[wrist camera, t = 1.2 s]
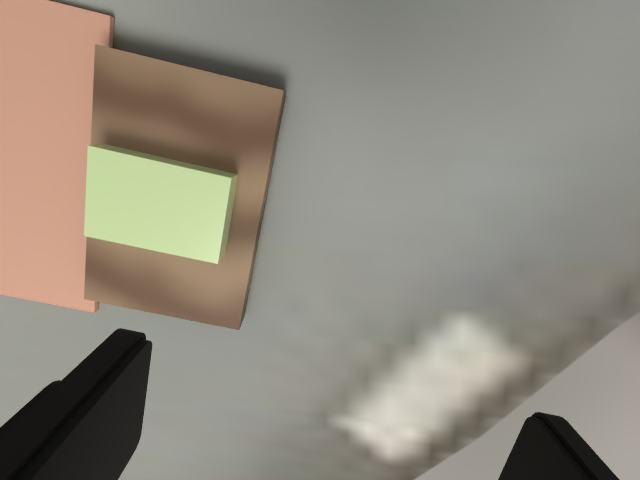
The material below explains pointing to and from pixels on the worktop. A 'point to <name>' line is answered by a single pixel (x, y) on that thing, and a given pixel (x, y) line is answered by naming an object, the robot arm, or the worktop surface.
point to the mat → (46, 147)
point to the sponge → (158, 203)
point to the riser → (191, 147)
